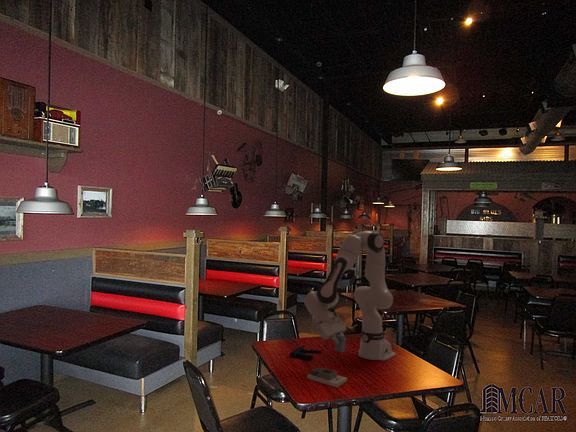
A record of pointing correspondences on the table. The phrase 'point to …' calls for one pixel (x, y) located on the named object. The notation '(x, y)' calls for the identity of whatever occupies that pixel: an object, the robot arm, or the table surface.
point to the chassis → (326, 377)
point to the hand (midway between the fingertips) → (341, 342)
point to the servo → (341, 345)
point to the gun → (301, 353)
